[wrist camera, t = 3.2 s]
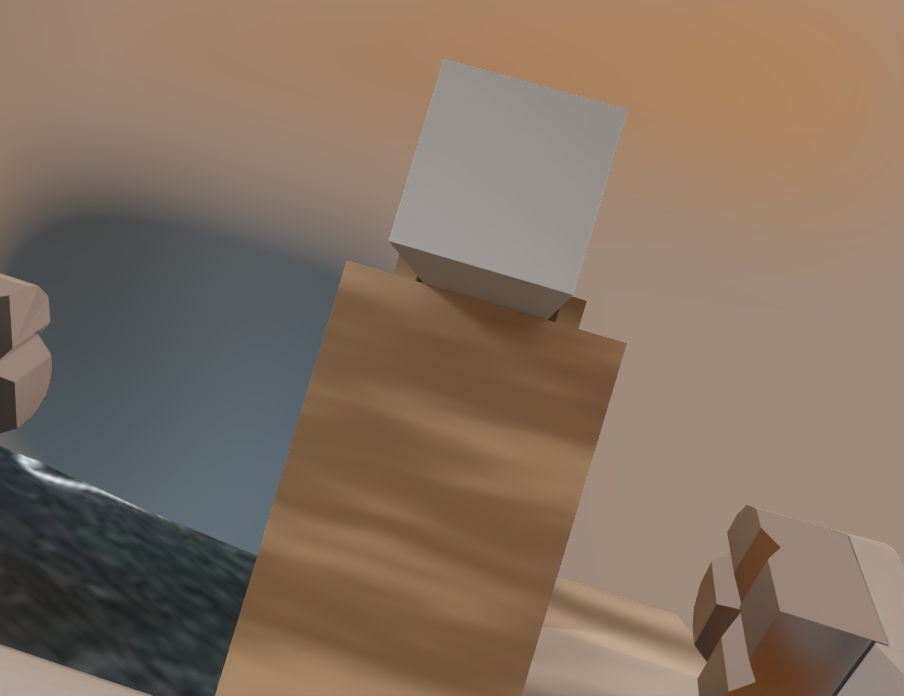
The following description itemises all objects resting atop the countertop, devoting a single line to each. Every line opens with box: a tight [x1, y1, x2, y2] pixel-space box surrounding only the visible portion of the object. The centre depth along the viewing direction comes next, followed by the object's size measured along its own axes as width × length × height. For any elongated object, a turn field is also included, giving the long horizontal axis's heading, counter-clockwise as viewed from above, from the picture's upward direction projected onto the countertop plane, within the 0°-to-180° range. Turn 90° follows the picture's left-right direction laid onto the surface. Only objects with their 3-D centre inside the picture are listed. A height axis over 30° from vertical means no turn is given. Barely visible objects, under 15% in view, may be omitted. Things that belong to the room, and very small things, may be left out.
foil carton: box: [389, 59, 628, 320], centre depth 28 cm, size 20×4×4 cm, turn 177°
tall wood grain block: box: [215, 255, 707, 696], centre depth 33 cm, size 12×16×27 cm
